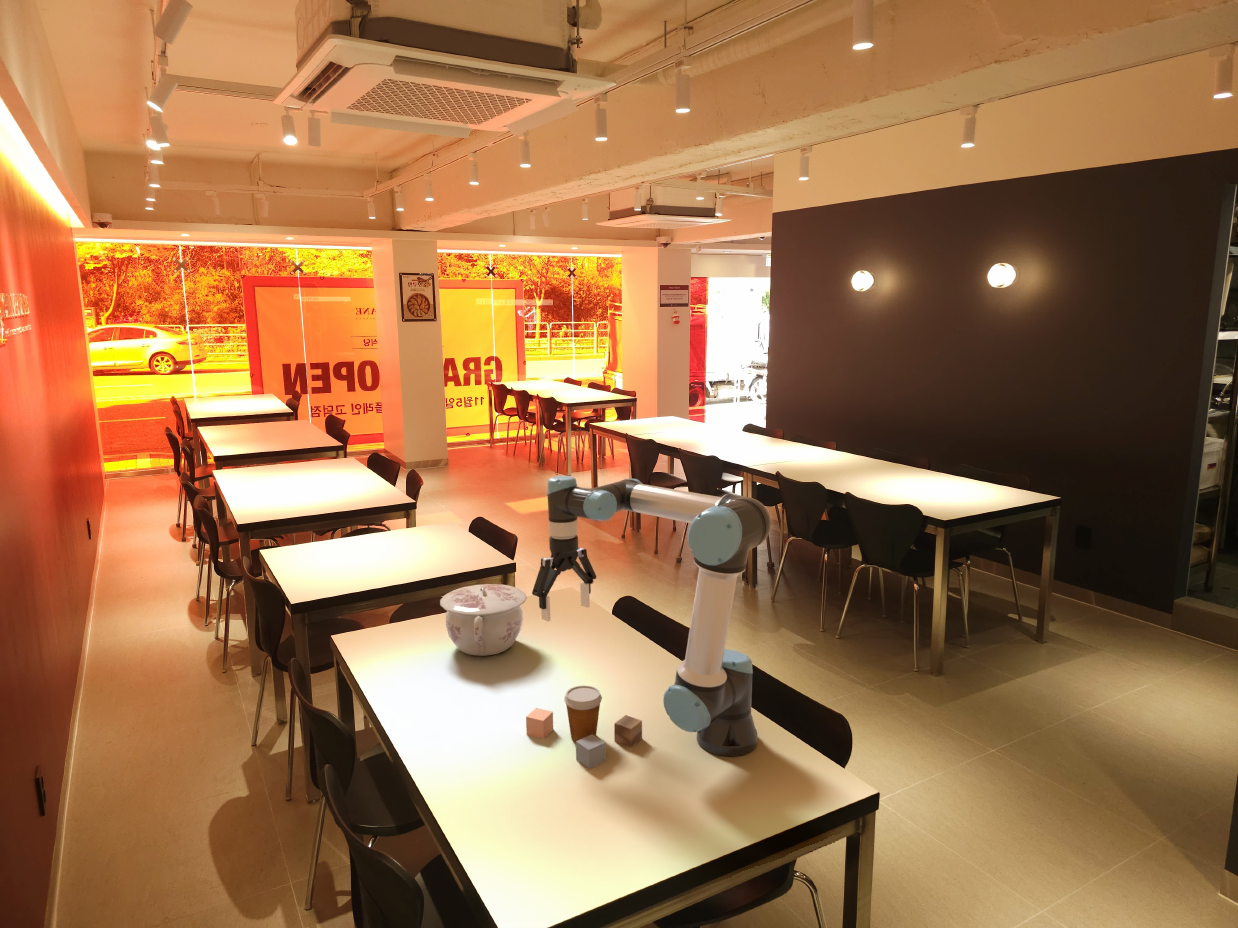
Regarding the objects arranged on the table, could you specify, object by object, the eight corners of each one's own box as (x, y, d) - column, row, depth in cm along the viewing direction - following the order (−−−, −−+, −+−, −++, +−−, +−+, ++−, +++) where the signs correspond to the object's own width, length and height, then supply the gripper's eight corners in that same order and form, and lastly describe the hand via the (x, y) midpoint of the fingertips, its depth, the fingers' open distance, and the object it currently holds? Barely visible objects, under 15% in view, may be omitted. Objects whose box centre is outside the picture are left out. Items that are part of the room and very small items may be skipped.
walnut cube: (642, 738, 196) (642, 720, 195) (631, 747, 191) (631, 728, 191) (625, 732, 198) (625, 714, 197) (614, 741, 194) (614, 723, 193)
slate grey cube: (605, 761, 186) (605, 742, 185) (589, 769, 182) (588, 749, 181) (592, 752, 189) (592, 733, 188) (576, 760, 186) (575, 741, 185)
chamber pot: (486, 624, 269) (483, 567, 265) (545, 642, 253) (544, 582, 250) (422, 652, 247) (419, 590, 243) (483, 674, 231) (481, 608, 227)
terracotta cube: (553, 729, 200) (552, 711, 199) (543, 738, 196) (543, 720, 195) (536, 725, 202) (536, 707, 201) (526, 734, 198) (526, 716, 197)
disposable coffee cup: (597, 749, 191) (597, 704, 188) (560, 745, 193) (559, 700, 190) (606, 729, 200) (605, 686, 198) (570, 725, 202) (569, 682, 200)
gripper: (589, 524, 213) (591, 597, 217) (516, 542, 196) (519, 622, 199) (608, 528, 208) (609, 604, 211) (534, 548, 190) (537, 629, 194)
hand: (566, 612), depth 205 cm, fingers open, 13 cm apart
